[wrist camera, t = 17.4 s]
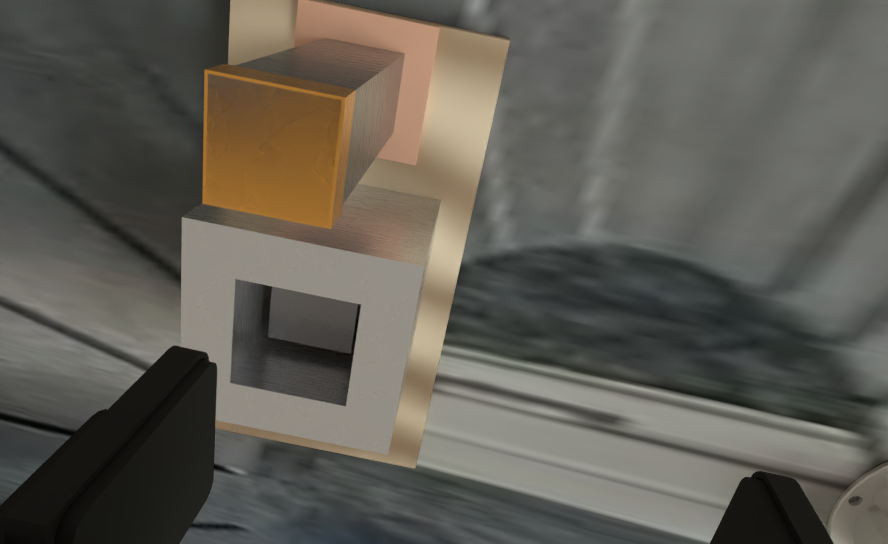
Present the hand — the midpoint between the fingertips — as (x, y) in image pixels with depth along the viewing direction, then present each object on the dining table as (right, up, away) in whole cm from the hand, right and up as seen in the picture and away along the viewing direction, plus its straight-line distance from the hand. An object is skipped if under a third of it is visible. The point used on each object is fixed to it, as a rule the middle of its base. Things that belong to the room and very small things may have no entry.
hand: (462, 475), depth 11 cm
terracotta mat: (-5, +13, +21) cm, 25 cm away
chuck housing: (-6, +4, +26) cm, 27 cm away
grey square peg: (-5, +13, +21) cm, 25 cm away
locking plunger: (-7, +2, +22) cm, 23 cm away
